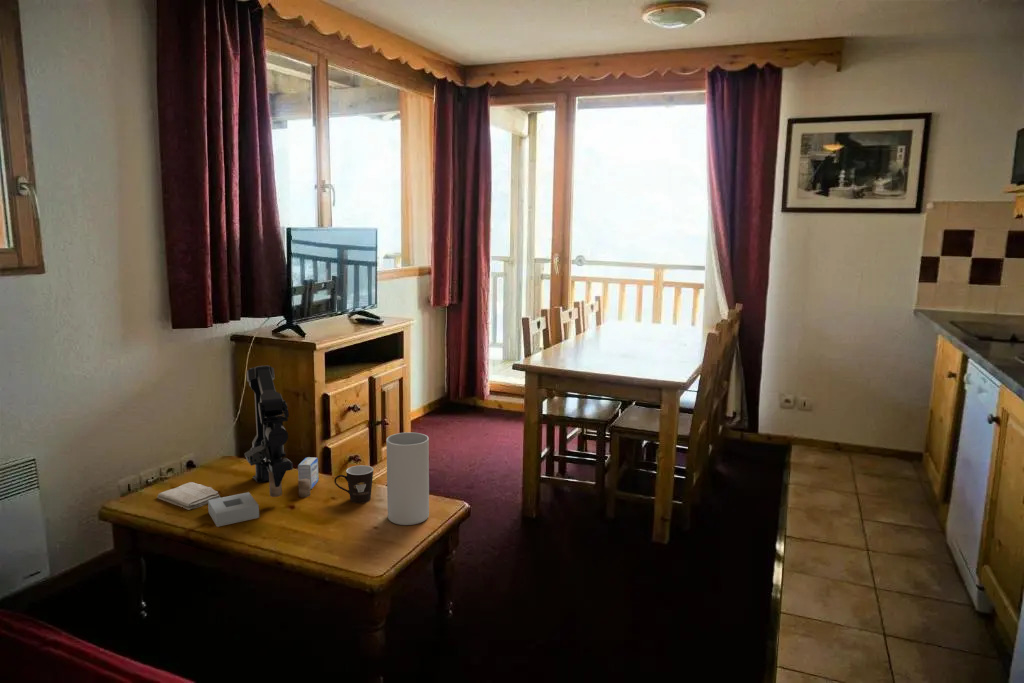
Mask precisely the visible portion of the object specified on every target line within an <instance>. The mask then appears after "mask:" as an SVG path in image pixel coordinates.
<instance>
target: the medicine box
mask: <svg viewBox="0 0 1024 683" xmlns="http://www.w3.org/2000/svg"><path fill="white" fill-rule="evenodd" d="M297 472H298V475H297V477H298V481H299V480H301V479H309V480H310V490H312V489H313V488H314V486H316V484H317V483H318V482H319V459H318V457H315V456H314V457H310V456H308V457H305V458H304V459H303V460H302V461H301V462H300V463H299V464H298V465H297Z"/></svg>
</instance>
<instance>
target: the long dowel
mask: <svg viewBox="0 0 1024 683" xmlns="http://www.w3.org/2000/svg"><path fill="white" fill-rule="evenodd" d="M268 483H269V485H268V486H269V497H271V498H277V497H281V496H282V494H283V490H282V487H283V486H282V482H281V483H280V486H279V487H275V483H274V479H273V474H272V472H270V471H269V481H268Z"/></svg>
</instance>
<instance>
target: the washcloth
mask: <svg viewBox="0 0 1024 683" xmlns="http://www.w3.org/2000/svg"><path fill="white" fill-rule="evenodd" d="M156 498H157V499H159V500H161V501H164V502H167V503H170V504H172V505H175V506H177V507H181V508H182V507H183V509H186V510H188V511H190V510H193V509H197V508H200V507H203V506H205V505H208V500H212V499H217V498H222V497H221V496H220V494H219V491H217V490H215V489H213V488H212V486H206V485H204V484H199V483H197V482H196V483H195V482H193V481H189V482H187V483H186V482H185V483H184V484H181V485H180V486H177V487H174V488H171V489H166V490H165V491H162V492H159V493H158V494H157V497H156Z"/></svg>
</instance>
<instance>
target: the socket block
mask: <svg viewBox="0 0 1024 683" xmlns="http://www.w3.org/2000/svg"><path fill="white" fill-rule="evenodd" d="M259 506H260V504H258V502H257V501H256V500H255V498H254V497H253V496H252V494H251V493H250V492H249V491H247V492H243V493H237V494H233V495H229V496H223V497H221V498H217V499H212V500H208V504H207V507H208V514H209V516H210V517H211V519H212V521H213V522H214V524H215V526H216V527H217V528H219V527H223V526H226V525H227V526H228V525H231V524H235V523H236V524H237V523H241V522H245V521H250V520H254V519H259V518H260V509H259V508H260V507H259Z"/></svg>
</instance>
